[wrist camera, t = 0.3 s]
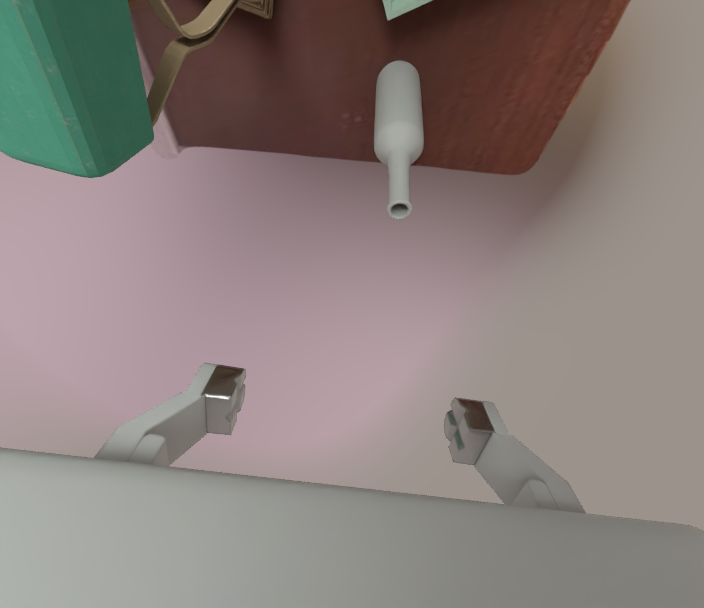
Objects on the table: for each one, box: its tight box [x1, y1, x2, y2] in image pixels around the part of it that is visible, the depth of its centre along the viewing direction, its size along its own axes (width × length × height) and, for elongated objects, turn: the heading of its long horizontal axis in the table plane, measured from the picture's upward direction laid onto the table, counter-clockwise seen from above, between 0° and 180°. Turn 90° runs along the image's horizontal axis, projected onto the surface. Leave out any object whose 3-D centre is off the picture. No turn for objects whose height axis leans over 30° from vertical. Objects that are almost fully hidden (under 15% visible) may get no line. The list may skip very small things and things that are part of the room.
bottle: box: [374, 61, 424, 220], centre depth 45 cm, size 7×7×28 cm
